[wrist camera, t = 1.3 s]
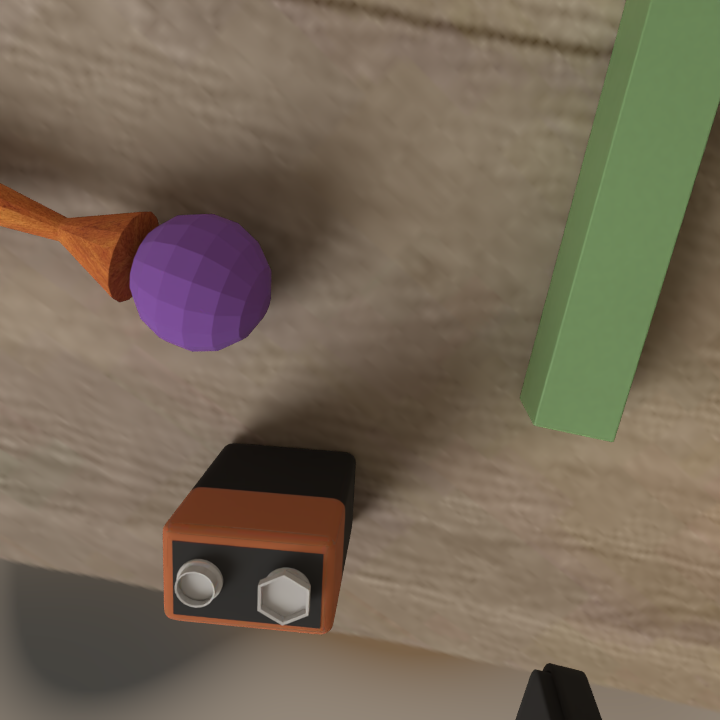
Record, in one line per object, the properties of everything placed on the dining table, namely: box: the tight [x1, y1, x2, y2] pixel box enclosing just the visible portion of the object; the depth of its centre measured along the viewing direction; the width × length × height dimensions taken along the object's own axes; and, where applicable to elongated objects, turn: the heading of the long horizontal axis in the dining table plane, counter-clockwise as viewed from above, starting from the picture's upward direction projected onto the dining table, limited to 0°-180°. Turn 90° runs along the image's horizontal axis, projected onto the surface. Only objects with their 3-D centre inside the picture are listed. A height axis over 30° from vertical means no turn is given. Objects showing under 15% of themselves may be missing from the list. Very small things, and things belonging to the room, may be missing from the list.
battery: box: [163, 444, 356, 634], centre depth 30 cm, size 4×7×10 cm, turn 87°
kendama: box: [0, 183, 271, 351], centre depth 30 cm, size 6×6×20 cm
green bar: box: [520, 0, 720, 442], centre depth 28 cm, size 18×4×4 cm, turn 169°
